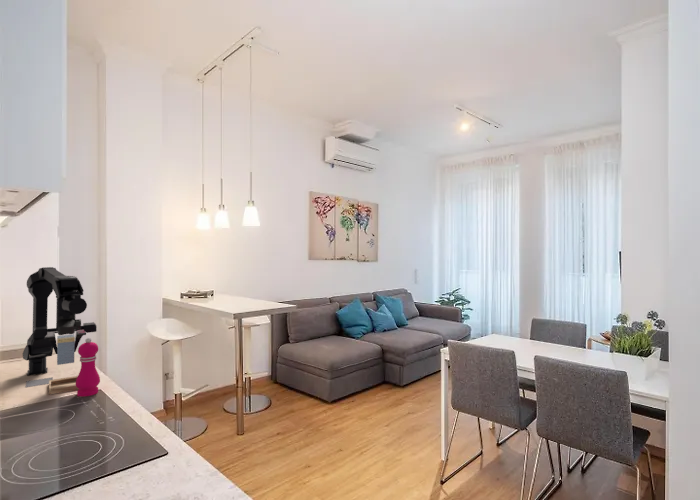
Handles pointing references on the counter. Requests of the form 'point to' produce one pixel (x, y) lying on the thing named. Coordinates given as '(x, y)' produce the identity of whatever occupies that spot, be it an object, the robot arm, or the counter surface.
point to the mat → (38, 382)
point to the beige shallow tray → (62, 385)
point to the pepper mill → (87, 369)
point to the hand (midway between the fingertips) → (65, 352)
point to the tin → (65, 349)
